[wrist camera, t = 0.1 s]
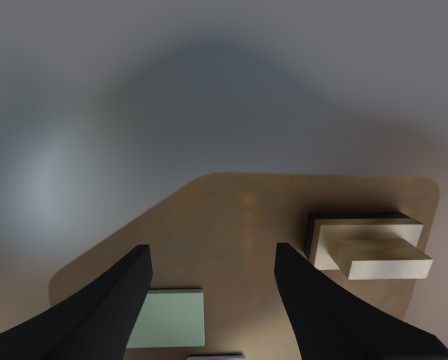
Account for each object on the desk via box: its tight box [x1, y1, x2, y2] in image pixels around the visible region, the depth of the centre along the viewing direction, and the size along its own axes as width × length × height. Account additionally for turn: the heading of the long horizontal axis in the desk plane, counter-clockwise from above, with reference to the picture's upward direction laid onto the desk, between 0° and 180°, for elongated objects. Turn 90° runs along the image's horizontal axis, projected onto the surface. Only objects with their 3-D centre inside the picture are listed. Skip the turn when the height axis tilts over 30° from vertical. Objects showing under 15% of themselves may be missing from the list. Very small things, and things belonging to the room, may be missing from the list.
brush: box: [304, 212, 433, 280], centre depth 21 cm, size 10×5×6 cm, turn 90°
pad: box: [126, 289, 205, 348], centre depth 27 cm, size 9×13×1 cm
